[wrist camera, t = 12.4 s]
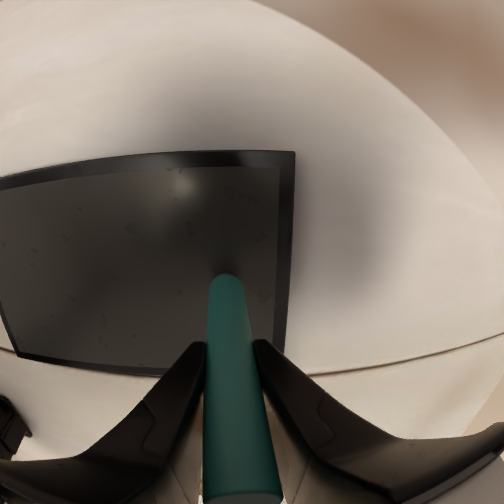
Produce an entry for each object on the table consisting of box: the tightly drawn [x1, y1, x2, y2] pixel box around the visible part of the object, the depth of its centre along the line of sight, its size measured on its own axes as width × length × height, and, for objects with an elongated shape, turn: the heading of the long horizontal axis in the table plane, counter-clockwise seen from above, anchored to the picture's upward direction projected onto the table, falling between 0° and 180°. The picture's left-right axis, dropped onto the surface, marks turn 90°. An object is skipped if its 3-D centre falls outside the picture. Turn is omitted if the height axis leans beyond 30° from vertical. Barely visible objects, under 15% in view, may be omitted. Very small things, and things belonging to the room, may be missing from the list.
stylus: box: [202, 272, 284, 504], centre depth 9 cm, size 2×2×11 cm
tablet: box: [0, 150, 296, 375], centre depth 14 cm, size 20×13×1 cm, turn 89°
